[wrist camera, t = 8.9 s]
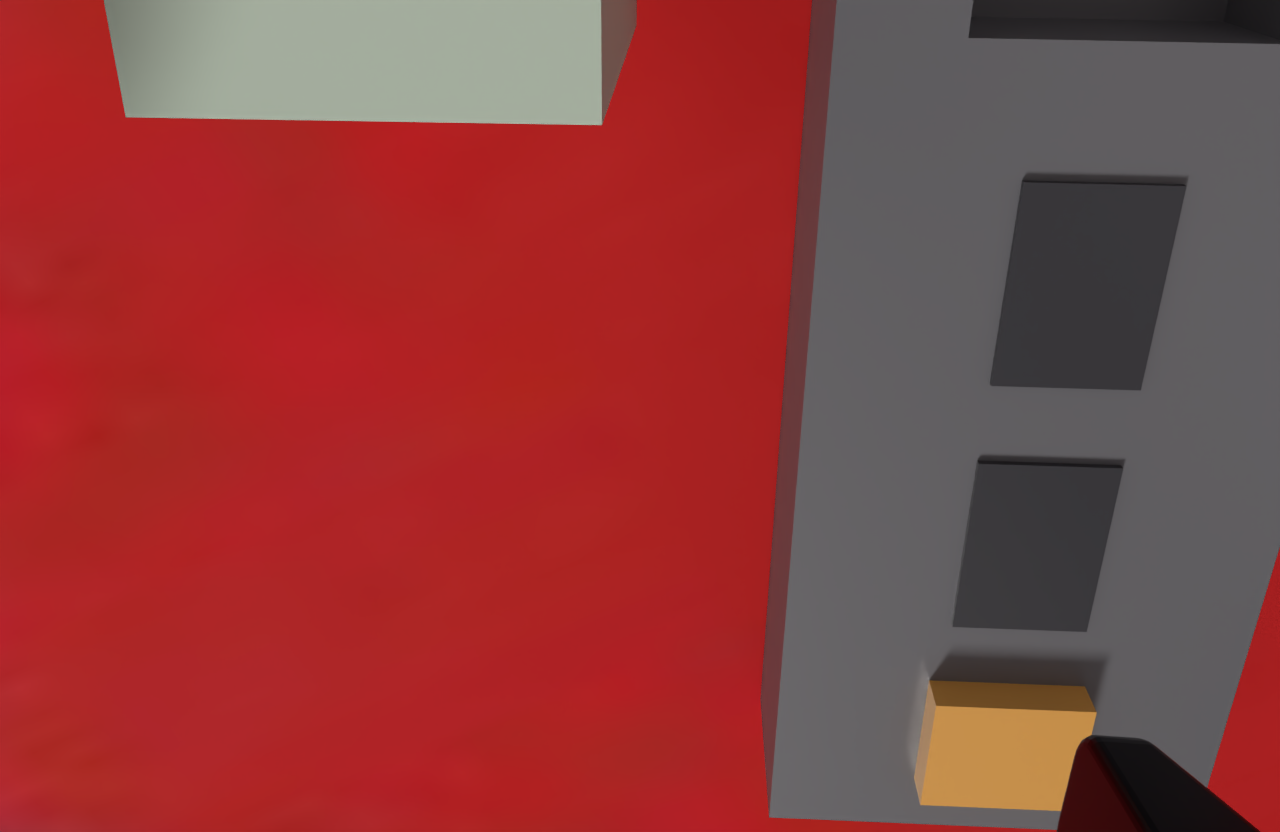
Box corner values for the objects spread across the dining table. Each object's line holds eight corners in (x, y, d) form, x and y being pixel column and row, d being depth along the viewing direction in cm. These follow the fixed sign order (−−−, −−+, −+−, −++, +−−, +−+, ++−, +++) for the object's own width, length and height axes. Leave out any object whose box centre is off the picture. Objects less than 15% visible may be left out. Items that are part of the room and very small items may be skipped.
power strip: (1548, -923, 12) (1853, -1201, 9) (1131, 714, 22) (1206, 864, 19) (880, -917, 12) (942, -1186, 9) (760, 699, 22) (770, 845, 19)
